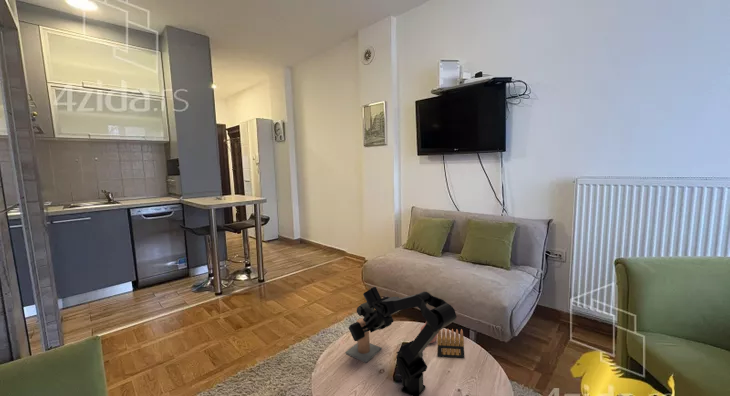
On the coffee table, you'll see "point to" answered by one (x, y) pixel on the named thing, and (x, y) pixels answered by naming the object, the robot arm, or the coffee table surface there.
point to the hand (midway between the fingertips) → (362, 333)
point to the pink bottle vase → (433, 338)
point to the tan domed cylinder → (363, 340)
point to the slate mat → (363, 357)
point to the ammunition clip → (450, 345)
